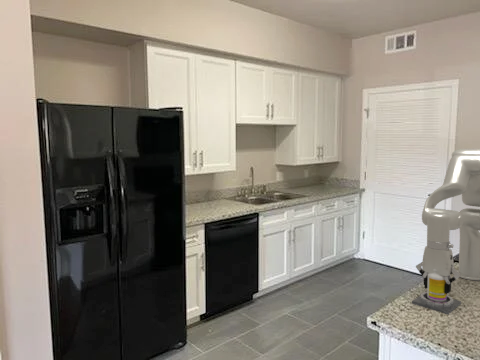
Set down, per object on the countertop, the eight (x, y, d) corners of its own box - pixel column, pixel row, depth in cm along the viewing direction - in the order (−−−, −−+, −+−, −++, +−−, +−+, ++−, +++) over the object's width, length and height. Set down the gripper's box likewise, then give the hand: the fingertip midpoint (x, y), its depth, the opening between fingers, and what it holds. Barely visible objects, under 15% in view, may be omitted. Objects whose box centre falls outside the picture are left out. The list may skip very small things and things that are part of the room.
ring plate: (426, 294, 150) (426, 288, 150) (461, 303, 141) (461, 297, 140) (411, 303, 142) (412, 297, 142) (448, 314, 132) (448, 307, 132)
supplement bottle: (449, 303, 137) (450, 270, 136) (430, 302, 139) (430, 269, 137) (443, 296, 144) (443, 264, 143) (424, 295, 145) (425, 263, 144)
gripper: (466, 247, 135) (465, 293, 137) (418, 239, 148) (418, 281, 150) (459, 251, 130) (458, 299, 132) (410, 242, 143) (409, 286, 145)
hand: (436, 289), depth 141 cm, fingers closed on supplement bottle, 6 cm apart
